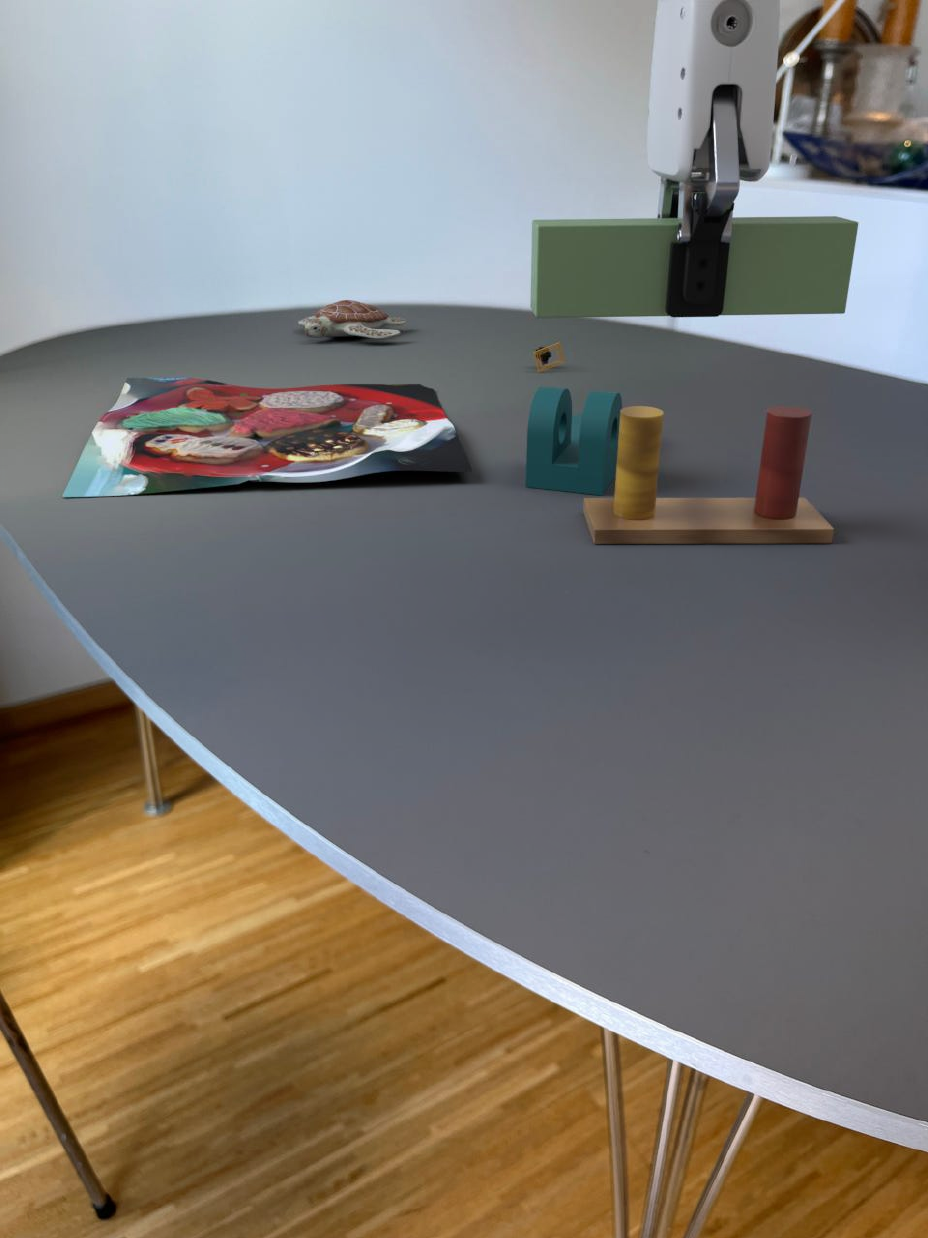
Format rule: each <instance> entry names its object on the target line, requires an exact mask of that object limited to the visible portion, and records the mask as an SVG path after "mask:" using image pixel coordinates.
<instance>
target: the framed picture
mask: <svg viewBox="0 0 928 1238" xmlns="http://www.w3.org/2000/svg"><path fill="white" fill-rule="evenodd" d="M553 350H555V351H556V355H557V359H558V360H555V361H553V362H550V363H549V359H550V358H552V352H551V351H553ZM533 356H534V360H535V364H536V368H537V372H538V373H541V372H543V371H544V372H545V371H547V370H549V369H551V368H554V367H557V366H559V365H561V364H564V363H566V360H565V356H564V352H563V348H562V344H561V342H560V341H559V342H556V343H554V344H551V345H549V346H546V347H545V346H539V347H538V349H535V351H534V352H533Z"/></svg>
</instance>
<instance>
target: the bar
mask: <svg viewBox="0 0 928 1238" xmlns="http://www.w3.org/2000/svg"><path fill="white" fill-rule="evenodd" d="M677 225H678V218H657V217H653V218H650V217H649V218H647V217H646V218H643V217H642V218H579V219H578V218H575V219H574V218H573V219H572V218H571V219H570V218H569V219H566V218H565V219H564V218H563V219H562V218H561V219H558V218H557V219H556V218H555V219H532V221H531V250H530V251H531V252H530V253H531V255H530V256H531V257H530V258H531V259H530V260H531V261H530V304H529V305H530V309H531V311H532V313H533V315H534V316H535V318H537V319H558V318H559V319H560V318H561V319H562V318H565V319H567V318H569V319H570V318H571V319H572V318H629V317H630V318H633V317H634V318H635V317H638V318H639V317H640V318H641V317H642V318H643V317H670V316H669V315H668V314H667V313H666V298H667V285H668V271H669V258H670V245H671V242H678V241H677ZM858 230H859V221H855V220H851V219H848V218H845V217H841V216H837V215H825V216H824V215H823V216H822V215H821V216H817V215H816V216H744V217H743V216H741V217H739V216H737V217H736V216H735V217H732V232H731V239H730V242H729V243H730V247H729V257H728V267H727V277H726V287H725V297H724V307H723V312H722V314H721V315H720V316H771V315H772V316H775V315H777V316H778V315H781V316H782V315H841V314H842V315H843V314H845V313H846V308H847V302H848V294H849V289H850V283H851V276H852V275H851V274H852V268H853V264H854V263H853V262H854V256H855V249H856V242H857V236H858Z"/></svg>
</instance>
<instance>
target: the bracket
mask: <svg viewBox="0 0 928 1238" xmlns="http://www.w3.org/2000/svg"><path fill="white" fill-rule="evenodd" d="M584 402H585V403H584V407H583V410H582V412H581V413H576V414H573V401H572V394H571V391H570V389H569V388H567V387H556V386H545V385H543V386H542V385H540V386H538V387H537V389H536V391H535V392H534V394H533V398H532V401H531V405H530V409H529V413H528V419H527V429H526V430H527V431H526V457H525V458H526V459H525V460H526V461H525V488H533V489H543V490H551V491H559V492H568V493H577V494H585V495H593V496H594V495H595V496H603V495H604V494H605V492H606V491H607V489H608V488H609V486H610V485H611V483H612V482H613V480H615V478H616V465H617V451H618V437H619V423H620V411H621V409H623V401H622V395H621V393H620V392H616V391H615V392H613V391H603V390H590V392H589V393H588V395H587V397H586V399H585V401H584Z"/></svg>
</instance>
